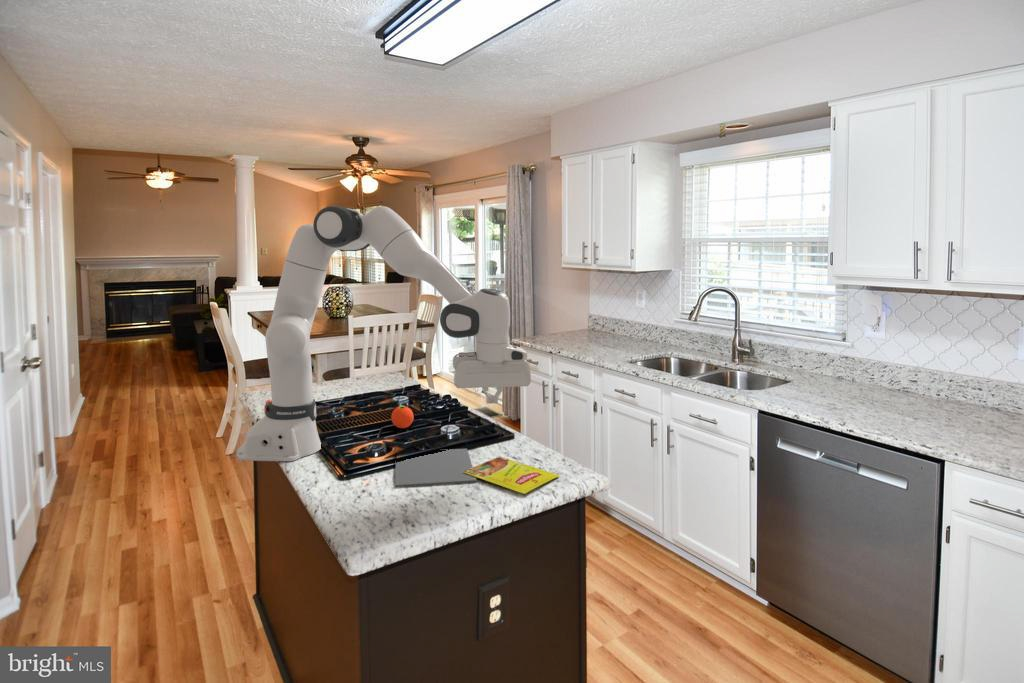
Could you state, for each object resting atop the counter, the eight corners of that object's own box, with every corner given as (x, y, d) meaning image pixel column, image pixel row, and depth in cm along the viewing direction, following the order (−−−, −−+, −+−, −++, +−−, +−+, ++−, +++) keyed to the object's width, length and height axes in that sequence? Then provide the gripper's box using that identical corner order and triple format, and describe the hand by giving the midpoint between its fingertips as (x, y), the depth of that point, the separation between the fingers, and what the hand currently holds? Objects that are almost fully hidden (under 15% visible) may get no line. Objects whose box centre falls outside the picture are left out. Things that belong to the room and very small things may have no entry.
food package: (500, 454, 172) (560, 473, 160) (500, 458, 172) (560, 477, 160) (462, 470, 160) (524, 491, 148) (462, 474, 160) (524, 496, 148)
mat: (395, 487, 152) (395, 485, 152) (395, 454, 174) (395, 452, 174) (476, 482, 156) (476, 480, 156) (467, 450, 177) (467, 448, 177)
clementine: (389, 424, 199) (388, 403, 197) (410, 422, 201) (410, 401, 200) (393, 432, 191) (393, 410, 190) (415, 430, 194) (415, 408, 192)
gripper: (453, 355, 157) (453, 407, 159) (533, 353, 160) (531, 405, 163) (451, 349, 163) (451, 400, 165) (528, 348, 166) (526, 398, 169)
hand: (491, 402), depth 164 cm, fingers closed
